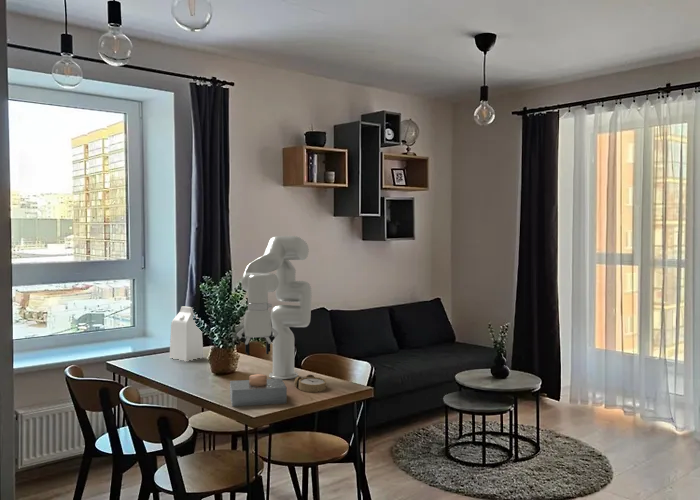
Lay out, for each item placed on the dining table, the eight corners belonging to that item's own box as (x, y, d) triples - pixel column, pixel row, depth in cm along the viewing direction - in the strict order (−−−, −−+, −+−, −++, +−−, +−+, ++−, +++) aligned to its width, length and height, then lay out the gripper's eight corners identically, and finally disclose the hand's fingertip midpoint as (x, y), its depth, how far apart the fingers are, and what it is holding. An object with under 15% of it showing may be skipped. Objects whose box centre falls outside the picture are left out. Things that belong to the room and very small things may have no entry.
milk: (203, 357, 327) (203, 306, 326) (186, 361, 317) (186, 308, 316) (186, 355, 333) (186, 305, 332) (169, 358, 323) (169, 307, 323)
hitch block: (229, 396, 251) (229, 380, 251) (281, 393, 256) (281, 378, 256) (232, 406, 236) (232, 390, 236) (286, 403, 241) (286, 387, 241)
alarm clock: (310, 386, 256) (288, 373, 267) (309, 398, 257) (287, 385, 268) (332, 382, 263) (309, 370, 274) (330, 393, 264) (308, 381, 275)
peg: (248, 396, 249) (248, 374, 248) (265, 395, 250) (265, 374, 250) (250, 401, 242) (250, 378, 242) (267, 400, 244) (267, 377, 243)
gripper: (279, 305, 251) (279, 351, 251) (234, 306, 247) (234, 353, 247) (281, 307, 243) (281, 355, 244) (235, 308, 239) (235, 356, 240)
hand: (257, 353), depth 246 cm, fingers open, 6 cm apart
